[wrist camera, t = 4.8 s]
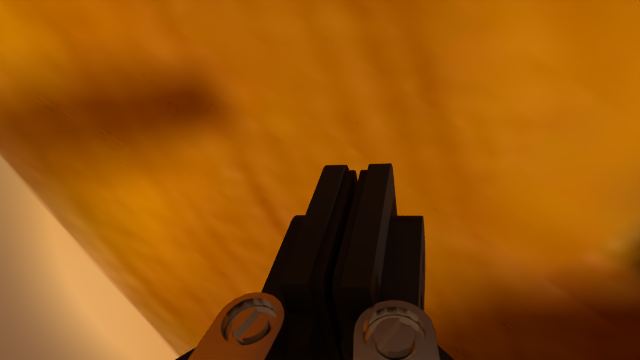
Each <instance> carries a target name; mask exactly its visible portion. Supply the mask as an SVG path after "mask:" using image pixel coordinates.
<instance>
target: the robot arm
mask: <svg viewBox="0 0 640 360" xmlns="http://www.w3.org/2000/svg"><path fill="white" fill-rule="evenodd" d="M424 294H425V235H424V219H423V216H397V207H396V197H395V187H394V176H393V167H392V164H391V163H390V164H369V166H368V170H361V171H360V175H359V178H358V181H357V175H356V171H355V170H349V168H348V166H347V165H326V166H325V167H324V168H323V171H322V174H321V176H320V179H319V181H318V184H317V186H316V189H315V192H314V194H313V197H312V199H311V202H310V204H309V207H308V210H307V212H306V215H296V216H295V217H293V219H292V221H291V223H290V226H289V228H288V230H287V233H286V235H285V237H284V240H283V242H282V244H281V247H280V249H279V252H278V254H277V256H276V259H275V261H274V263H273V266H272V268H271V271H270V273H269V275H268V278H267V280H266V282H265V285H264V287H263V290H262V292H261V293H258V292H255V293H250V294H245V295H243V296H240V297H238V298H236V299H234V300H233V301H231V302H230V303H229V304H227V305H226V306H225V307H224V308H223V309H222V311H221V312H220V313H219V314H218V316H217V317H216V319H215V320H214V321H213V323H212V324H211V326H210V327H209V329H208V330H207V332H206V333H205V335H204V336H203V338H202V339H201V341H200V342H199V344H198V345H197V347H196V348H194V349H192V350H191V351H189V352H187V353H186V354H184V355H182V356H181V357H179V358H177V359H176V360H453V359H452V358H451V357H450V356H449V355H448V354H447V353H446V352H445V351H444V350H443V349H441V348H440V347H439V346H438V345H437V340H436V334H435V329H434V327H433V324H432V321H431V319H430V318H429V317H428V315H427V314H426V313H425V312H424Z"/></svg>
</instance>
